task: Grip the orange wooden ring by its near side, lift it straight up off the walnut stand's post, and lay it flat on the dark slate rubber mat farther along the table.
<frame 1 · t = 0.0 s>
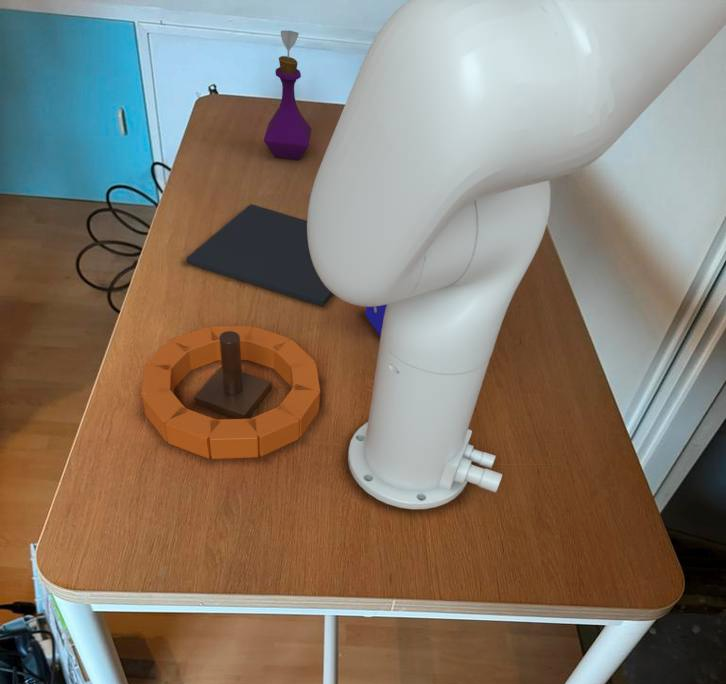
perfume bottle: (287, 155, 111), on the table
ring: (233, 397, 70), on the table
mat: (283, 253, 90), on the table
stand: (233, 397, 70), on the table
die: (390, 324, 82), on the table
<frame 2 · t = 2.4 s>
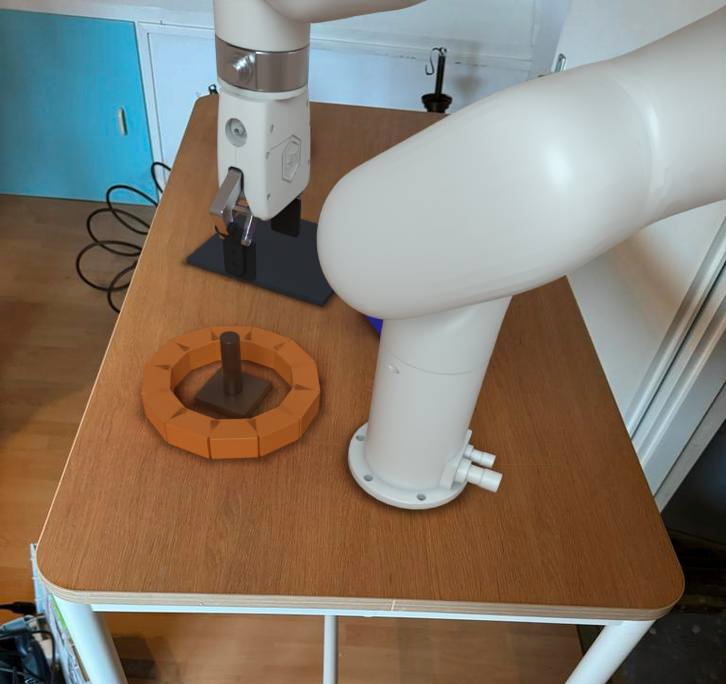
hand: (264, 253, 65), 13 cm above the table, tool pointing down, fingers open, 9 cm apart
nothing on the table moved.
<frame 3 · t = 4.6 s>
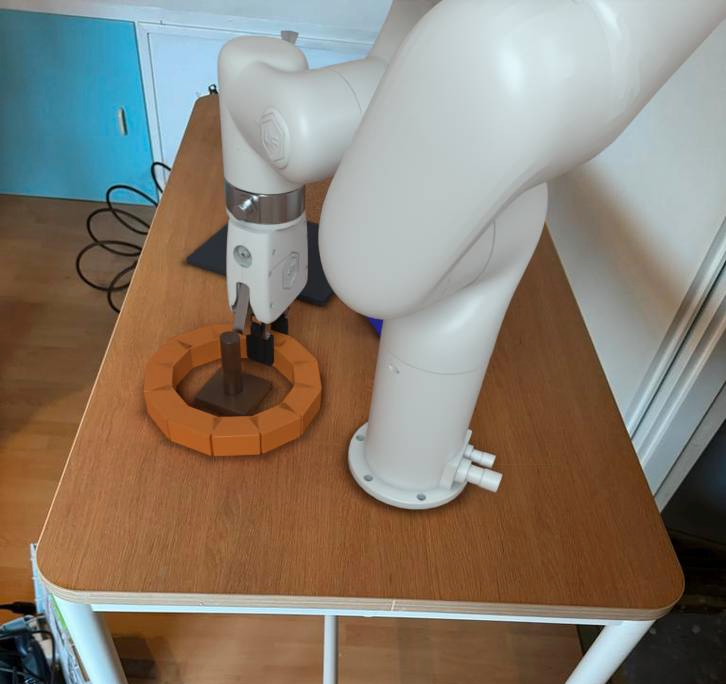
hand: (267, 351, 74), 1 cm above the table, tool pointing down, fingers closed on ring, 2 cm apart
ring: (235, 395, 70), on the table, touching gripper
everything else where it was.
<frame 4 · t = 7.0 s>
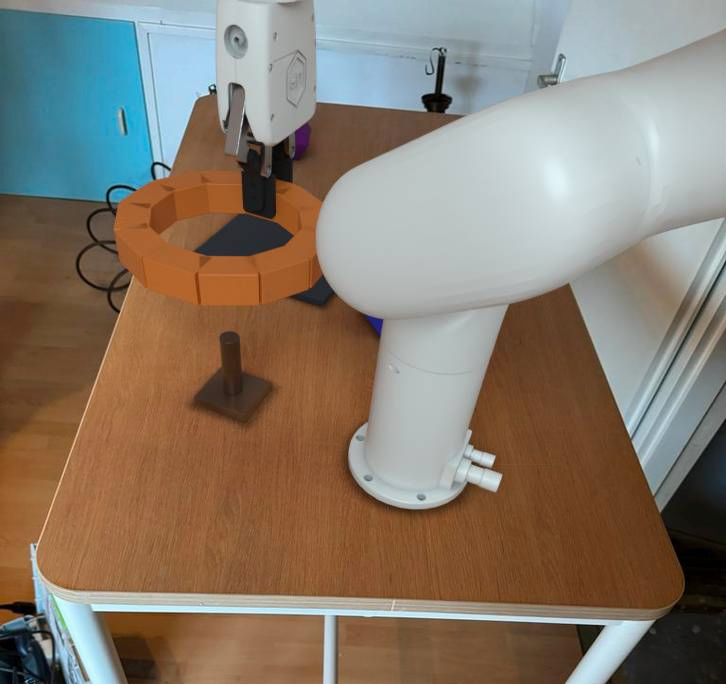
hand: (268, 205, 61), 18 cm above the table, tool pointing down, fingers closed on ring, 2 cm apart
ring: (228, 247, 57), point 17 cm above the table, touching gripper
everything else where it was.
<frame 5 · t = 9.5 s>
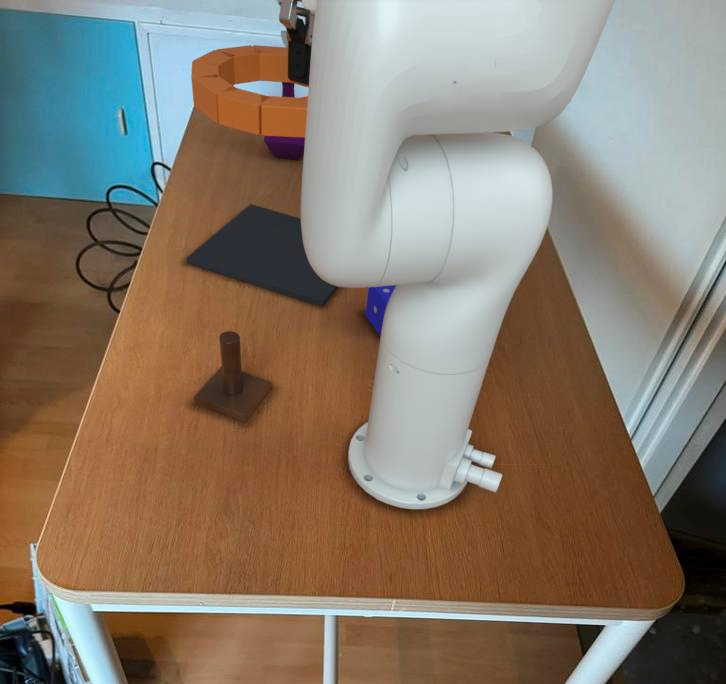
hand: (307, 76, 75), 22 cm above the table, tool pointing down, fingers closed on ring, 2 cm apart
ring: (278, 102, 71), point 21 cm above the table, touching gripper
everything else where it was.
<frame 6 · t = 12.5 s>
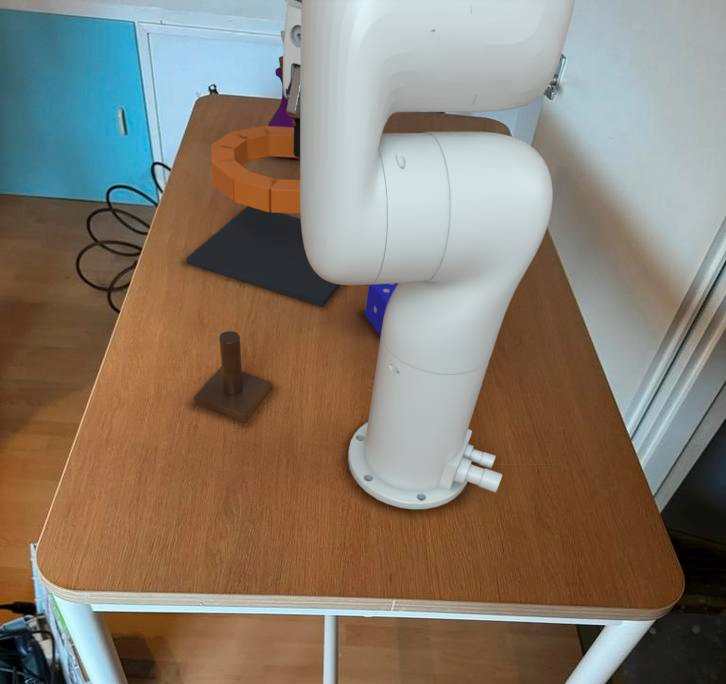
hand: (310, 152, 87), 11 cm above the table, tool pointing down, fingers closed on ring, 2 cm apart
ring: (285, 178, 82), point 10 cm above the table, touching gripper
everything else where it was.
when the fingers open (2 cm above the table, at t = 14.7 s): ring stays where it is, resting on mat.
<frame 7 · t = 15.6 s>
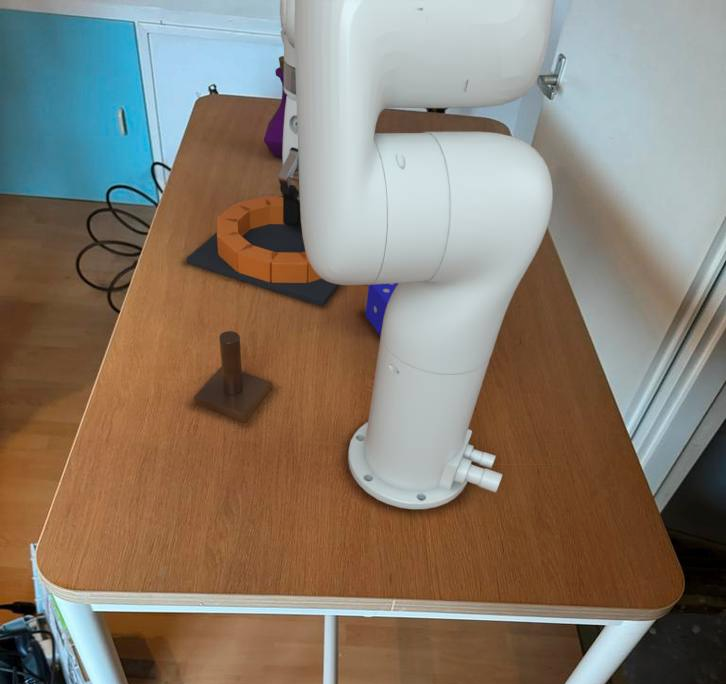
hand: (308, 212, 93), 3 cm above the table, tool pointing down, fingers open, 9 cm apart
ring: (284, 246, 90), point 1 cm above the table, touching mat
everything else where it was.
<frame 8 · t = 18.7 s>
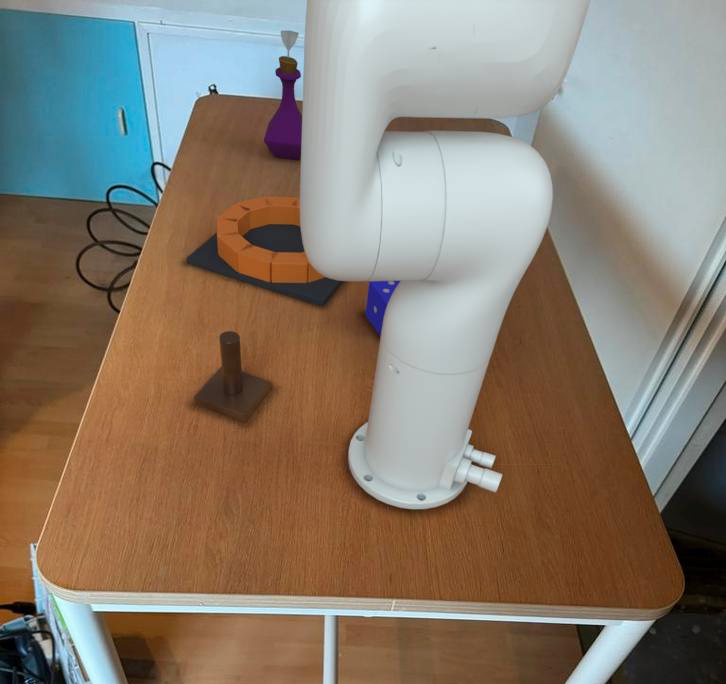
hand: (338, 17, 76), 26 cm above the table, tool pointing down, fingers open, 9 cm apart
nothing on the table moved.
at the end: ring inside the target area on the mat (0.5 cm from its centre), point 0.8 cm above the mat's base; ring touching mat; ring tilted 0° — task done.
